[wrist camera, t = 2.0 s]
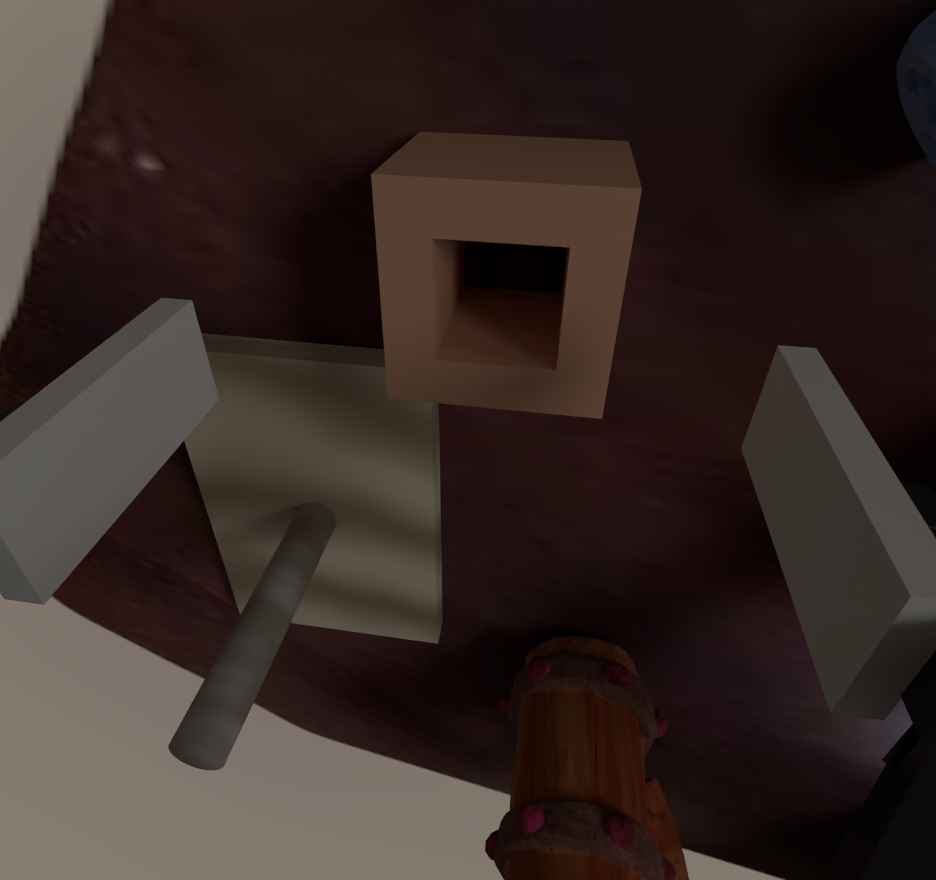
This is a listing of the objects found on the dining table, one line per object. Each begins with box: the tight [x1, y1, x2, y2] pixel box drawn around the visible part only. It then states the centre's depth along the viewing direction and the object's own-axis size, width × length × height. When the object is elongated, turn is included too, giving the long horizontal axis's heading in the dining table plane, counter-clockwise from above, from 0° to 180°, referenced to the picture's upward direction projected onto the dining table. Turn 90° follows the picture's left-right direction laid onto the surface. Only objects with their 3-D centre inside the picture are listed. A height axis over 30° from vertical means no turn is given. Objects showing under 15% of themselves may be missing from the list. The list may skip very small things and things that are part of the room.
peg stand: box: [169, 333, 442, 770], centre depth 27 cm, size 18×12×14 cm, turn 179°
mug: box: [485, 635, 689, 880], centre depth 32 cm, size 15×8×15 cm, turn 37°
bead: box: [371, 132, 642, 419], centre depth 20 cm, size 7×7×6 cm
